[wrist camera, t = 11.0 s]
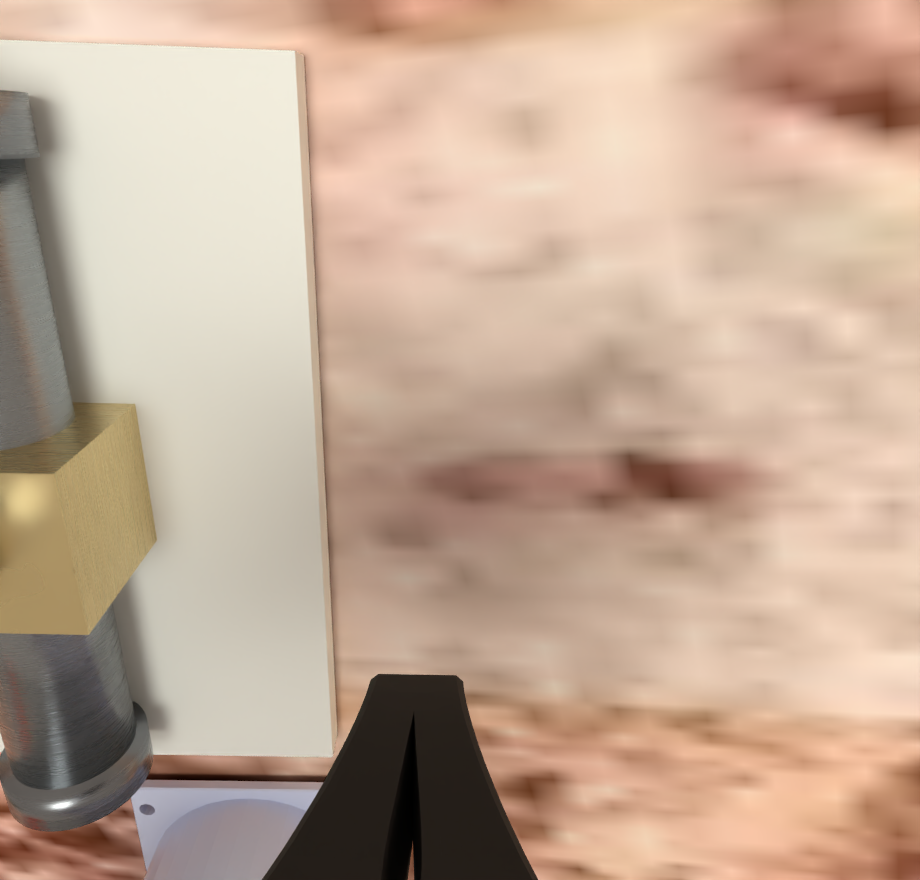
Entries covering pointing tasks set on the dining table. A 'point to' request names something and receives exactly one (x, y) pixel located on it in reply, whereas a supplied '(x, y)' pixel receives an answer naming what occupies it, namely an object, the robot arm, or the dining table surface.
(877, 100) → the dining table surface
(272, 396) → the valve board
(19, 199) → the pipe and valve
